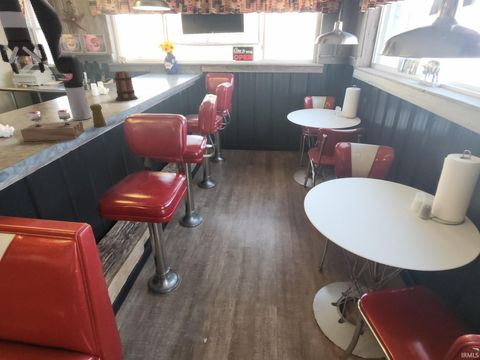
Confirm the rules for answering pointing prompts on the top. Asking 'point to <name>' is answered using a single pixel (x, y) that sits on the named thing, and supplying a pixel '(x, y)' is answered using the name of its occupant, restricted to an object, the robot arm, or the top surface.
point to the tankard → (124, 87)
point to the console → (52, 131)
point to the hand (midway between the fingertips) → (30, 73)
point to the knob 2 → (64, 115)
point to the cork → (97, 115)
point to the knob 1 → (35, 117)
